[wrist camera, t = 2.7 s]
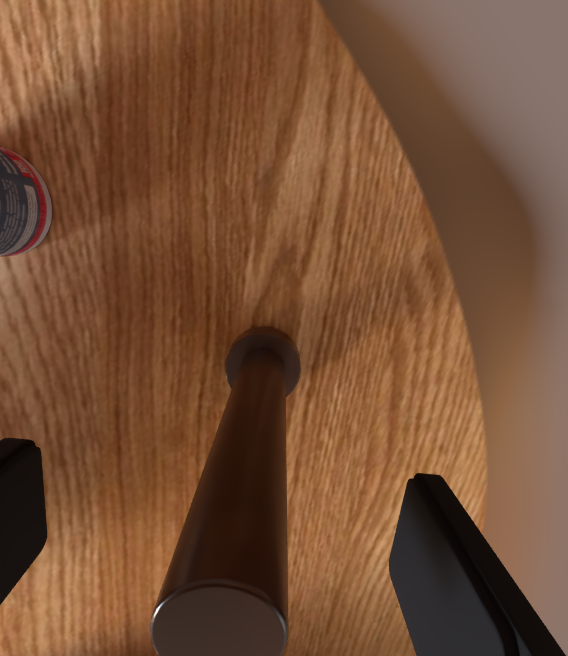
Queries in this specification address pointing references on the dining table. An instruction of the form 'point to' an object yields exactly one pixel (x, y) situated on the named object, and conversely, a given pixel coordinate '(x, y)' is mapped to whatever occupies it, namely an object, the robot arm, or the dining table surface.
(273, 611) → the rod
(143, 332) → the dining table surface
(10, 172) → the pill bottle
